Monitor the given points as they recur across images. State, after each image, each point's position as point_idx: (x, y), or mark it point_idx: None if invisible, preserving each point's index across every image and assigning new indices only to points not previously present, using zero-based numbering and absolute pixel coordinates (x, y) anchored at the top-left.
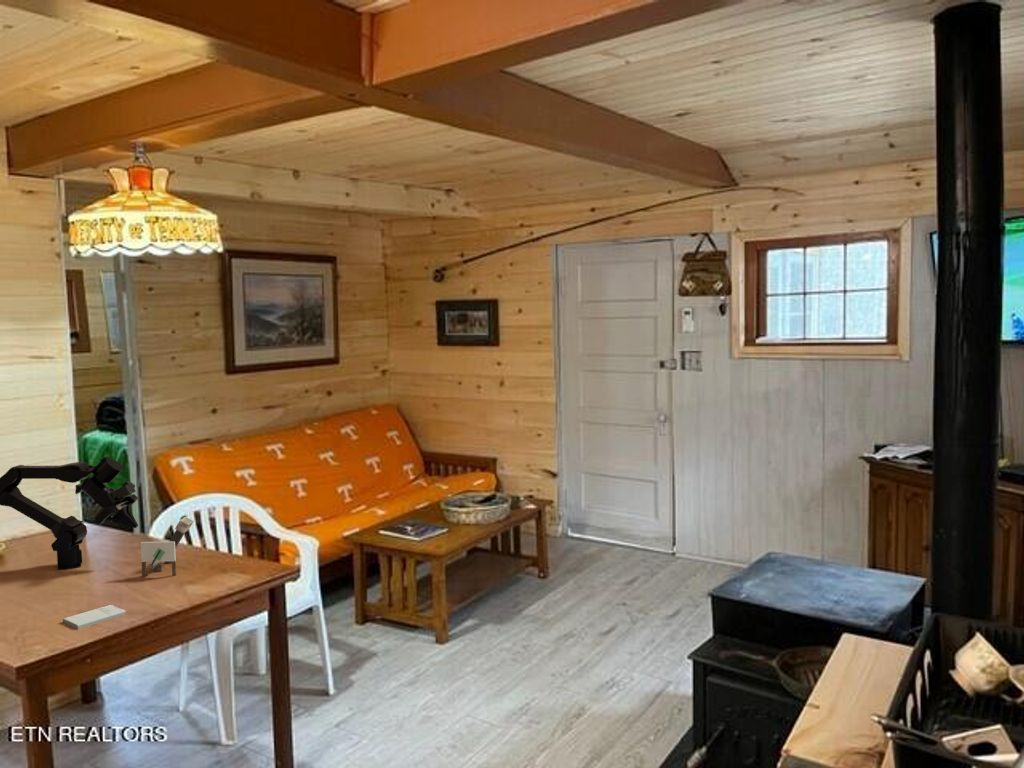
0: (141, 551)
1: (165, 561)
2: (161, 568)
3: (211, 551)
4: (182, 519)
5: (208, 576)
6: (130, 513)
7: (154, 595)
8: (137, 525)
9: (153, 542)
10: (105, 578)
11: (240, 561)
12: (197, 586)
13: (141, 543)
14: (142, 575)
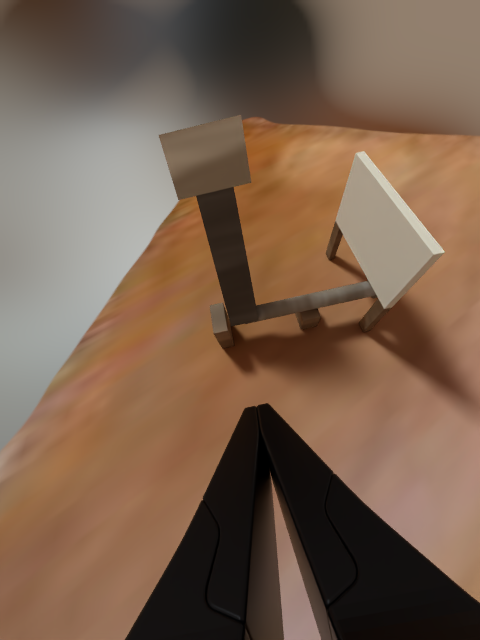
0: (415, 280)
1: (232, 340)
2: None
3: (121, 286)
4: (215, 122)
5: (311, 194)
6: (216, 571)
7: (477, 213)
8: (259, 405)
9: (407, 205)
10: (450, 455)
11: None
12: None
13: (439, 252)
14: (369, 329)
